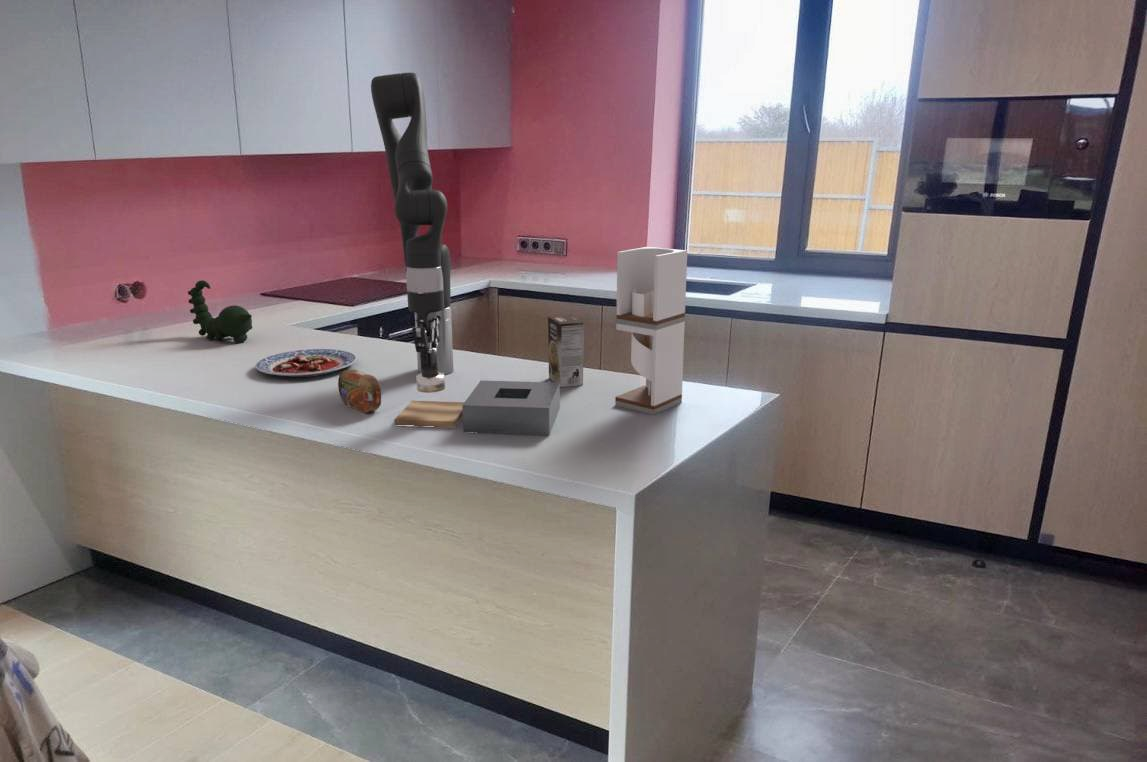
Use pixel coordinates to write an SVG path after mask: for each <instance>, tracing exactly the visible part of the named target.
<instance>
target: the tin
mask: <svg viewBox="0 0 1147 762" xmlns="http://www.w3.org/2000/svg"><path fill="white" fill-rule="evenodd" d="M337 382H338V383H337V387H338V393H339V396H340V399H341V401H342V403H343V404H344V405H345V404H347V405H349V406H351V407H350V408H352V407H353V408H352V409H354V408H356V409H355V410H357V409H358V410H357V411H359V410H360V411H359V412H361V411H363V412H362V413H364V412H365V414H366V413H370V412H375V411H377V410H378V409H379V408H380V406H381V404H382V389H381V385H380V383H379V381H378V379H377V378H376V377H375V376H374V375H372V374H369V373H366V372H363V371H359V370H357V369H347V370H346V369H344V370H342V371H340V374H339V376H338V381H337ZM347 405H346V406H347ZM349 406H348V407H349Z"/></svg>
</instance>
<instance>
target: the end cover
mask: <svg viewBox="0 0 1147 762" xmlns="http://www.w3.org/2000/svg"><path fill="white" fill-rule="evenodd" d="M431 350H432V351H431V356H432V369H431V370H422V369H421V372H422V373H418V374H417V375H416V376H415V379H416V381H415V382H416V390H417V391H418V393H419V392H420V393H427V394H428V393H429V394H431V393H437V392H442V391H444V390H445V389H446V381H445V378H446V377H445V374H444V373H442V372H438V358H437V347H434V346H431ZM420 358H421V357H420Z"/></svg>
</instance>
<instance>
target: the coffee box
mask: <svg viewBox="0 0 1147 762" xmlns="http://www.w3.org/2000/svg"><path fill="white" fill-rule="evenodd" d="M584 326H585V324H584V321H581V320H579V318H576V317H575V316H573V315H572V314H569V315H550V316H547V327H548V328H547V336H548V339H547V340H548V345H547V346H548V379H550V380H551V381H552V382H554V383H560V388H566V387H567V388H568V387H577V386H583V385H584V339H585V338H584V336H585V335H584V329H585V328H584Z"/></svg>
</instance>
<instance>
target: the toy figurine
mask: <svg viewBox="0 0 1147 762" xmlns="http://www.w3.org/2000/svg"><path fill="white" fill-rule="evenodd" d="M205 288H206V289H211V285H210V284H209V283H208V282H207V281H206V280H202V279H201V280H198V281H196V283H195V284H194V287H191V289H190V290H189V291H187V295H188V296H190V297H191V298H190V299H188V303H189V304H191V305H192V306H193V307H192V308H190V309H189V312H190V314H195V318H194V319H193V320H192V323H193V324H194V325H198V324H199V326H200V329H199V330H198V335H200V336H205V335H206V339H207V340H208V341H212V339H213V340H214V338H215V340H216V341H219V342H220V341H223V340H224V339H225V338H229V337H230V338H232V340H233V341H234V342H235V343H236V344H241V342H242V343H244V342H246V341H247V339H248V335H247V334H248V332H249V331H250V330H252V329H253V324H252V323H253V320H252V317H253V316H252V314H250V313H249V311H248V310H247V309H245V308H244V307H242V306H239V305H229V306H225V308H223V309H222V310H221V311H220V312H219V314H218V315H217V316H216V317H214V316H212V313H211V312H210V311H209V306H208V305H207V304H206V297H205V296H204V295H203V289H205Z"/></svg>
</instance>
